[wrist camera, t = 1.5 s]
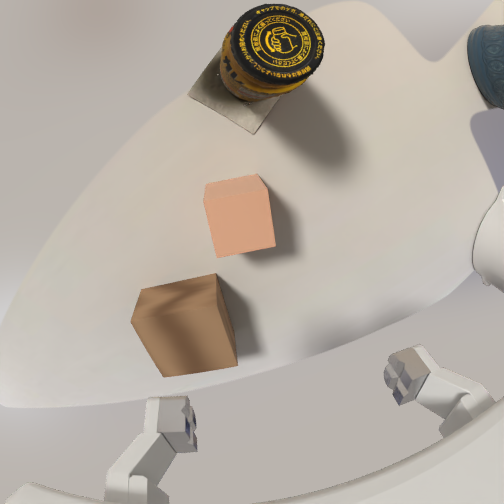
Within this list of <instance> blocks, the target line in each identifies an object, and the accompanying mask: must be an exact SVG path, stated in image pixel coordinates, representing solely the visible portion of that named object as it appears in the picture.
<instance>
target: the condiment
mask: <svg viewBox="0 0 504 504" xmlns="http://www.w3.org/2000/svg"><path fill="white" fill-rule="evenodd" d="M324 46H325V42H324V38H323V35H322V32H321V31H320V29H319V27H318V26H317V24H316V23H315V22H314V21H313V20H312V19H311V18H310V17H309V16H308V15H306V14H305V13H304V12H302V11H301V10H299V9H297V8H295V7H291V6H288V5H284V4H264V5H261V6H257V7H255V8H253V9H251V10H249V11H247V12H246V13H245V14H244V15H242V16H241V17H240V18H239V19H238V20H237V22H236V23H235V24H234V26H233V27H232V28H231V29H230V31H229V32H228V33H227V35H226V36H225V38H224V41H223V45H222V48H221V49H220V50H219V51H218V53H217V54H216V55H215V57H214V58H213V59H212V61H211V62H210V63H209V64H208V66H207V67H206V69H205V70H204V71H203V73H202V74H201V76H200V77H199V78H198V80H197V81H196V83H195V84H194V85H193V87H192V88H191V90H190V91H189V93H188V94H187V95H189V96H190V97H192V98H194V99H196V100H197V101H199V102H201V103H203V104H205V105H206V106H208V107H210V108H211V109H213V110H215V111H217V112H218V113H220V114H222V115H223V116H225V117H227V118H228V119H230V120H232V121H233V122H235V123H236V124H238V125H240V126H241V127H243V128H244V129H246V130H248V131H249V132H251V133H252V134H254V133H255V132H256V130H257V129H258V127H259V126H260V124H261V123H262V122H263V120H264V119H265V118H266V116H267V114H268V113H269V112H270V110H271V109H272V108H273V106H274V105H275V104H276V102H277V101H278V99H279V98H280V97H281V95H282V94H285V93H289V92H290V91H292V90H294V89H296V88H297V87H299V86H300V85H302V84H303V83H304V82H305V81H306V79H307V78H308V77H309V76H310V75H311V74H313V72H314V71H315V70H316V68H317V67H319V65H320V63H321V61H322V59H323V53H324ZM217 74H219V75H217ZM250 102H251V103H252V104H249V103H250ZM244 104H248V105H247V106H244Z"/></svg>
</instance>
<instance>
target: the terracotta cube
mask: <svg viewBox="0 0 504 504" xmlns="http://www.w3.org/2000/svg"><path fill="white" fill-rule="evenodd" d="M203 202H204V206H205V210H206V215H207V219H208V223H209V227H210V231H211V236H212V240H213V244H214V248H215V252H216V256H217V258H220V257H225V256H230V255H235V254H240V253H245V252H250V251H255V250H260V249H265V248H270V247H275V246H276V244H275V237H274V230H273V223H272V216H271V209H270V202H269V195H268V189H267V187H266V186H265V185H264V183H263V182H262V180H261V179H260V177H259V176H258V175H257V174H254V175H249V176H244V177H238V178H233V179H228V180H223V181H218V182H213V183H208V184H206V188H205V194H204V201H203Z"/></svg>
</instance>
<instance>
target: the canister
mask: <svg viewBox="0 0 504 504" xmlns="http://www.w3.org/2000/svg"><path fill="white" fill-rule="evenodd" d="M468 58H469V63H470V67H471V70H472V74H473V76H474V79H475V81H476V83H477V86H478V87H479V89H480V91H481V93H482V94H483V96H484V97H485V98H486V99H487V100H488V101H489V102H490V103H491V104H492V105H494V106H497V107H499V108H501V109H504V25H495V26H491V25H482V26H479V27H478V28H475V29H473V30H472V31H471V33H470V35H469V38H468Z"/></svg>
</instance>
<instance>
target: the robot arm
mask: <svg viewBox="0 0 504 504" xmlns="http://www.w3.org/2000/svg"><path fill="white" fill-rule="evenodd" d="M473 265H474V268H475V270H476V272H477V273H478V274H480V275H481V277H482V281H483V284H485V285H486V286H489V285H490V284H492V285H494V286H495V287H496V288H498V289H499V290H501V291H502V292H503V293H504V185H503V187H502V188H501V190H500V193H499V195H498V197H497V200H496V201H495V203H494V204H493V205H492V206H491V208H490V209H489V211H488V212H487V214H486V215H485V217H484V219H483V221H482V223H481V225H480V228H479V230H478V233H477V236H476V240H475V244H474V249H473ZM388 361H389V364H388V365H387V366H386V367H385V370H384V379H385V382H386V384H387V386H388V387H389V388H391V389H393V396H394V398H395V400H396V401H397V403H398V405H399V406H400V405H402V404H405V403H407V402H409V401H412V400H415V401H417V402H418V403H420V404H421V405H423V406H425V407H426V408H428V409H429V410H431V411H432V412H434V413H436V414H437V415H439V416H440V417H442V418H444V419H445V421H444V422H443V423H442V424H441V425H440V427H439V431H440V433H441V434H442V436H443V439H441V440H440V441H438V442H436V443H434V444H433V445H431V446H429V447H427V448H425V449H423V450H422V451H420V452H418V453H416V454H414V455H412V456H410V457H408V458H405V459H403V460H401V461H399V462H397V463H395V464H392V465H390V466H388V467H385V468H383V469H381V470H378V471H376V472H373V473H371V474H368V475H365V476H363V477H360V478H357V479H354V480H351V481H348V482H345V483H343V484H339V485H336V486H333V487H329V488H326V489H322V490H319V491H315V492H311V493H307V494H303V495H298V496H294V497H289V498H284V499H279V500H274V501H268V502H261V503H254V504H504V397H503V398H502V399H500V400H499V401H497V402H495V401H494V399H493V398H492V397H491V395H490V394H489V393H488V391H487V390H486V389H485V387H484V386H483V385H482V384H481V383H478V382H476V381H474V380H471V379H469V378H467V377H464V376H462V375H460V374H457V373H455V372H453V371H450V370H448V369H446V368H444V367H443V368H440V367H439V366H438V364H437V363H436V362H435V361H434V359H433V358H432V357H431V355H430V354H429V353H428V352H427V350H426V349H425V348H424V347H423V346H422V345H421V344H419V345H416V346H413V347H411V348H407V349H405V350H402V351H399V352H396V353H393V354H392V355H390V356H389V359H388ZM195 429H196V418H195V413H194V410H193V408H192V406H190V402H189V398H188V397H187V396H176V397H148V400H147V403H146V412H145V422H144V432H143V433H140V434H139V435H138V436H137V437H136V438H135V440H134V441H133V442H132V443H131V444H130V445H129V447H128V448H127V449H126V450H125V451H124V452H123V454H122V455H121V456H120V457H119V458H118V460H117V461H116V462H115V463H114V464H113V465H112V466H111V468H110V469H109V470H108V471H107V477H106V486H105V497H104V501H102V500H97V499H92V498H87V497H83V496H78V495H74V494H70V493H66V492H62V491H59V490H56V489H52V488H49V487H46V486H43V485H40V484H37V483H33V482H28V483H26V484H24V485H22V486H21V487H20V488H19V489H17V490H16V491H15V492H14V493H13V494H11V495H10V496H9V497H8V499H7V500H6V502H5V504H169V496H168V495H167V494H166V493H165V492H163V491H162V490H161V489H160V488H158V487H157V485H158V483H159V482H160V480H161V479H162V477H163V475H164V474H165V472H166V471H167V469H168V467H169V466H170V464H171V462H172V461H173V459H174V458H175V456H176V453H187V452H197V437H196V435H195V433H194V431H195Z"/></svg>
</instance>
